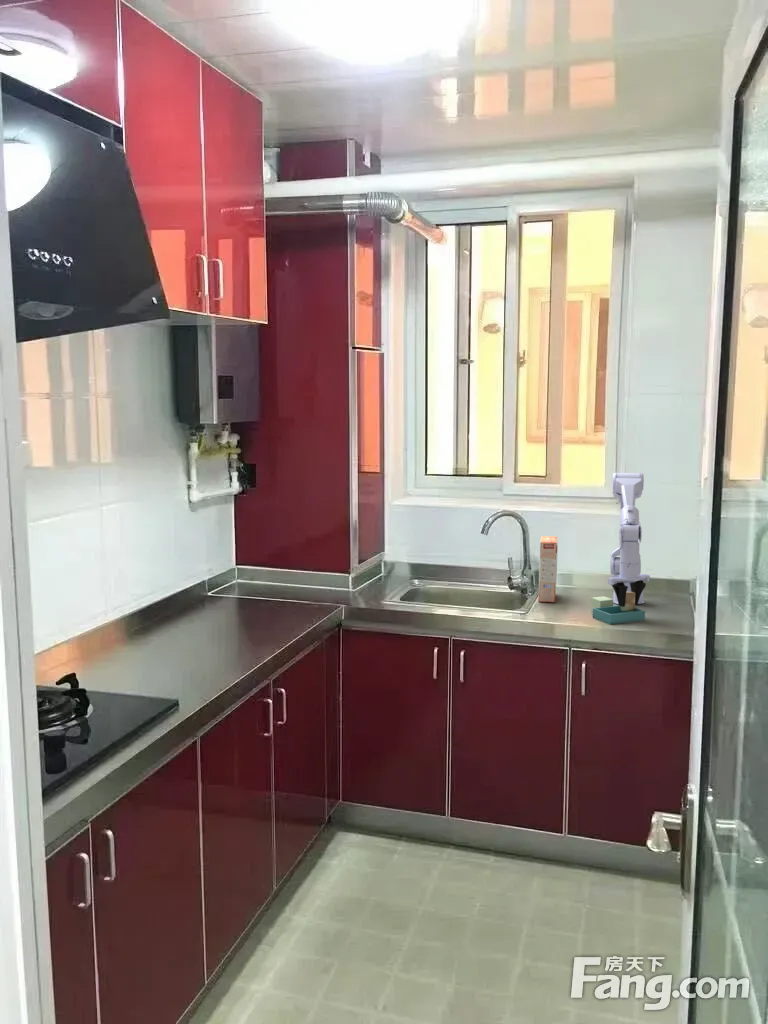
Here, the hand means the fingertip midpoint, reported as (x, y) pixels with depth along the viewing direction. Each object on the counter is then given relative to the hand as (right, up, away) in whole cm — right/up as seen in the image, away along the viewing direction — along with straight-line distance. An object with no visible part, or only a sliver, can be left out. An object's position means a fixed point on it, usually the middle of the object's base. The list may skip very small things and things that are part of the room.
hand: (628, 605), depth 275 cm
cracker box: (-20, -1, +28) cm, 35 cm away
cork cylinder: (0, -2, 0) cm, 2 cm away
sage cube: (-7, -3, +6) cm, 10 cm away
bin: (-3, -4, -1) cm, 5 cm away
